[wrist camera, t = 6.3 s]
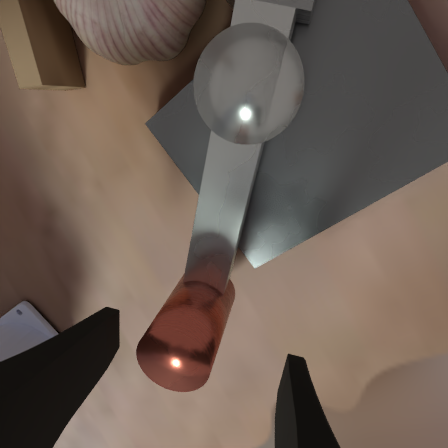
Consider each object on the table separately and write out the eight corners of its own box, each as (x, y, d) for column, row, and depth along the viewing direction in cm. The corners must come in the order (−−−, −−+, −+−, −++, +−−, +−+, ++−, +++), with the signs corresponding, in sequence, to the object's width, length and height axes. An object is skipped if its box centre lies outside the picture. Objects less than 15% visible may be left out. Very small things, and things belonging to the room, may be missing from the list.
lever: (234, -72, 11) (182, -206, 6) (345, -53, 11) (384, -183, 6) (171, 296, 18) (121, 372, 13) (238, 318, 17) (214, 406, 12)
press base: (257, 257, 18) (253, 273, 16) (155, 122, 16) (140, 124, 14) (469, 137, 13) (492, 142, 12) (358, -63, 12) (367, -87, 10)
